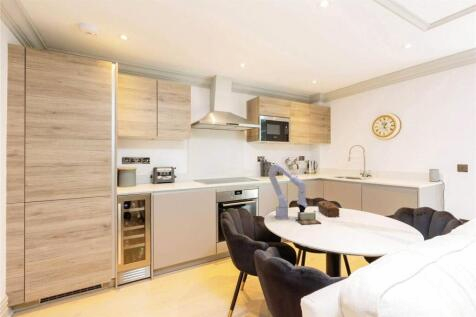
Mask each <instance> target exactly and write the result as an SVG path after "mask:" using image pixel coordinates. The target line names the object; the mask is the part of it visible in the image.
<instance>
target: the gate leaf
mask: <svg viewBox="0 0 476 317" xmlns="http://www.w3.org/2000/svg"><path fill="white" fill-rule="evenodd" d="M300 219H301V220H304V219H315V212H314V211H306V212H305V211H304V212H303V213H300Z"/></svg>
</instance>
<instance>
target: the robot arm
mask: <svg viewBox="0 0 476 317" xmlns="http://www.w3.org/2000/svg"><path fill="white" fill-rule="evenodd" d="M277 173H282V174H283V175H285V176H286V177H287V178H288V179H289V182H291V183H292V184H293V185H295V186H296V187H297V188H298V191H297V201H296V203H297V207H298V210H299V212H300V213H303V212H305V211H306V209H307V208H308V203H307V200H306V199H307V198H306V195H307V194H306V192H307V191H306V188H307V185H306V183H305V181H303V180H301V179H300V178H299V177H298V175H293V174H291V173H290V172H289V171H287V170H286V168H284V167H283V166H281V165H280V164H278V163H273V164H271V165H270V167H269V172H268V178H269V180H270V183H271V185H272V188H273V189H274V191H275V194H276V196H277V200H278V206H276V207H275V217H276V218H277V219H278V220H283V219H284V220H285V219H291V217H290V216H289V206H288V203H289V202H288V201H289V200H288V198H287V197H286V196H285V194H284V193H283V191H282V189H281V186H280V184H279V182H278V179H277V177H276V174H277Z"/></svg>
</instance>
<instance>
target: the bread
mask: <svg viewBox="0 0 476 317" xmlns="http://www.w3.org/2000/svg"><path fill="white" fill-rule="evenodd" d="M317 209H318V212H319V213H321V214H322V216H325V217H327V218H333V217H334V218H339V217H340V208H339V207H338V205H336V204H334V203H332V202H331V201H327V200H321V201H319V202H318V203H317Z"/></svg>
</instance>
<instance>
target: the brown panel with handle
mask: <svg viewBox="0 0 476 317" xmlns="http://www.w3.org/2000/svg"><path fill="white" fill-rule="evenodd" d="M313 212H315V219H304V220H301V214H300V211H297V218H294V221H296V222H297V223H298V224H299V225H301V226H311V225H322V222H321V221H319V220H318V219H316V216H317V215H316V210H313Z"/></svg>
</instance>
